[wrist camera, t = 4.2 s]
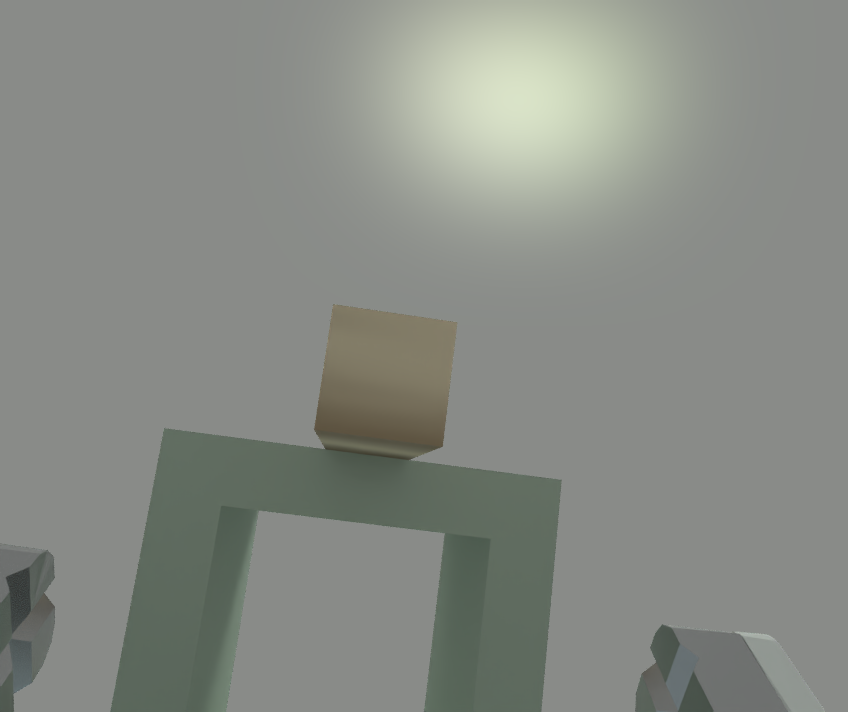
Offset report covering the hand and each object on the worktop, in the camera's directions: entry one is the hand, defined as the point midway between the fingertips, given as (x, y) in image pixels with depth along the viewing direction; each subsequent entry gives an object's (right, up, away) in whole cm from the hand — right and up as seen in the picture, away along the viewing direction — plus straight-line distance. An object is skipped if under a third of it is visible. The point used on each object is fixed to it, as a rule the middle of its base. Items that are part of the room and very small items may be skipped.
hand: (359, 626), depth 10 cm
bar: (-1, 0, +14) cm, 14 cm away
